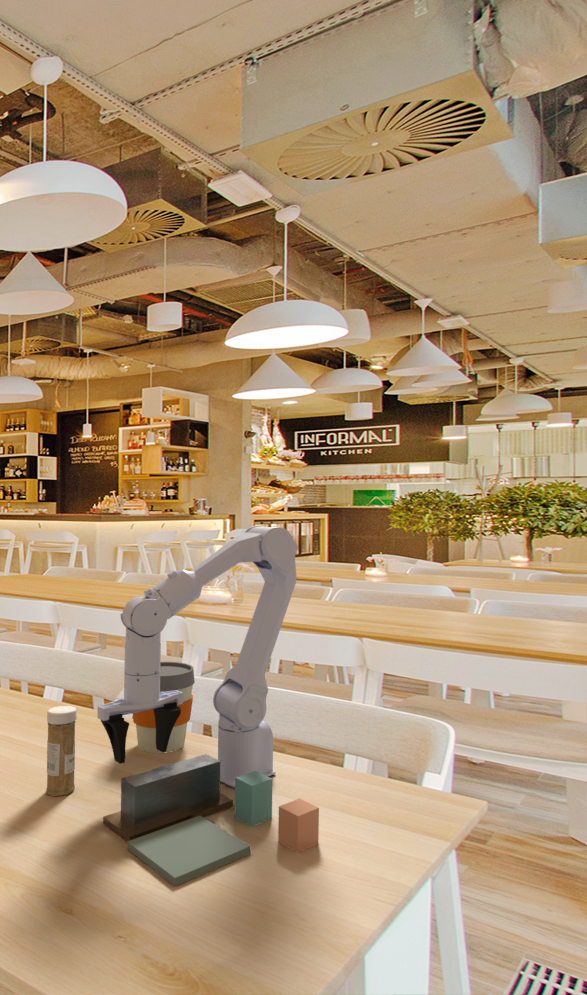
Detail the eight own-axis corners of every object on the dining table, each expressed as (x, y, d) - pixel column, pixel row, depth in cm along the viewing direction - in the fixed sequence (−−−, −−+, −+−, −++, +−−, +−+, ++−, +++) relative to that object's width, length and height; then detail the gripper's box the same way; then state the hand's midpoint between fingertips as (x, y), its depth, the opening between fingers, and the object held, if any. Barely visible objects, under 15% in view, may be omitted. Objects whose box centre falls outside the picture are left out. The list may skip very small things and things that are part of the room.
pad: (199, 822, 100) (199, 815, 100) (250, 853, 91) (250, 846, 91) (126, 849, 92) (127, 841, 92) (174, 886, 83) (175, 877, 83)
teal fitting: (255, 809, 104) (255, 770, 104) (271, 818, 101) (272, 778, 101) (234, 817, 102) (235, 777, 102) (251, 826, 99) (251, 785, 99)
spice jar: (78, 793, 109) (80, 710, 109) (49, 799, 107) (51, 714, 107) (70, 783, 113) (72, 703, 113) (42, 789, 110) (44, 707, 111)
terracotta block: (298, 833, 97) (299, 798, 97) (318, 843, 94) (318, 807, 94) (278, 842, 94) (278, 806, 94) (297, 853, 91) (298, 816, 91)
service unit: (203, 790, 111) (204, 747, 111) (233, 806, 105) (233, 761, 105) (103, 823, 99) (103, 775, 99) (129, 843, 93) (130, 793, 93)
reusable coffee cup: (197, 753, 128) (199, 674, 128) (130, 759, 124) (131, 678, 124) (189, 732, 140) (190, 660, 140) (127, 737, 136) (128, 663, 136)
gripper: (167, 661, 117) (166, 739, 117) (89, 674, 107) (87, 759, 107) (190, 668, 112) (188, 750, 111) (110, 682, 102) (108, 772, 102)
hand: (140, 755), depth 109 cm, fingers open, 7 cm apart
